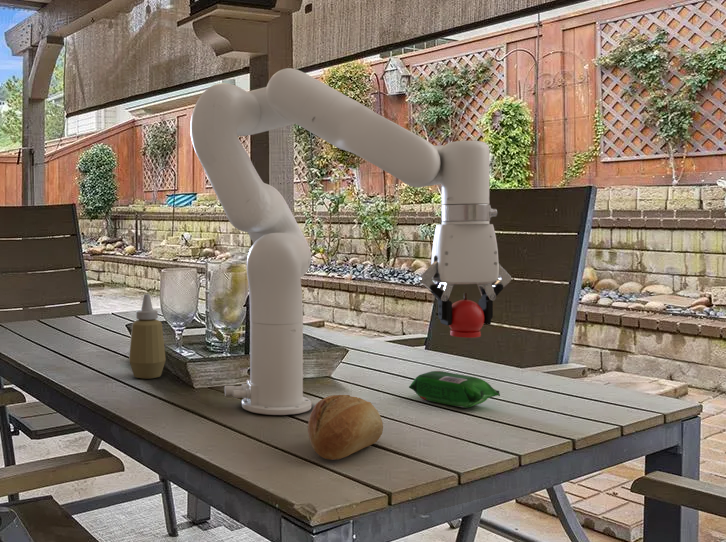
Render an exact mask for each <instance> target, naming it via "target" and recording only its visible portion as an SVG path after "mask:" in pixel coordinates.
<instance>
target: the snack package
mask: <svg viewBox="0 0 726 542" xmlns="http://www.w3.org/2000/svg"><path fill="white" fill-rule="evenodd" d="M408 388H409V389H410V390H412V391H414V393H415V394H416V395H417V396H418V397H419V398H420V399H422V400H424V401H427V402H428V401H429V402H433V403H438V404H443V405H447V406H451V407H457V408H465V409H466V408H467V409H468V408H471V407H474V406H477V405H480V404H482V403H485V402H486V401H487V400H488V399H489V398H493V397H496V396H498V397H501V394H500V390H496V389H495V388H494V387H492V385H491V384H490V383H489V382H488V381H486V380H484V379H481V378H479V377H476V376H470V375H465V374H459V373H453V372H448V371H442V370H431V371H428V372H425V373H421V374H419V375H417V376H416V377H415V378H414V379H413V380H412V382H411V383H410V384H409V386H408Z"/></svg>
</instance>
